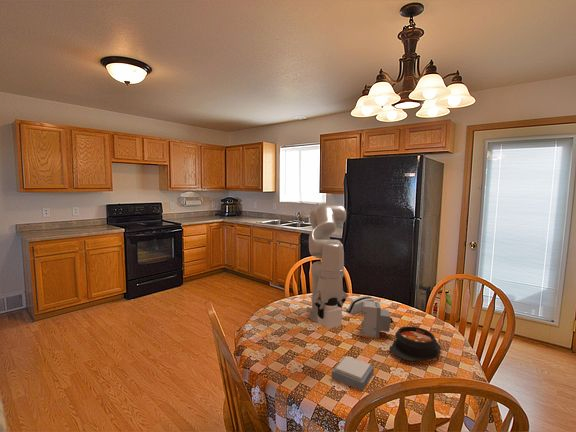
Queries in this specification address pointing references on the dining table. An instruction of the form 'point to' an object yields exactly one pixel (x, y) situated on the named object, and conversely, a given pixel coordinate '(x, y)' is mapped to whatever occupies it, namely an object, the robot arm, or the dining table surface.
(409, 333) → the casserole
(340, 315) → the medicine bottle
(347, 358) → the stand
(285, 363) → the dining table surface
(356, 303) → the grey curved block
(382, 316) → the circuit breaker
